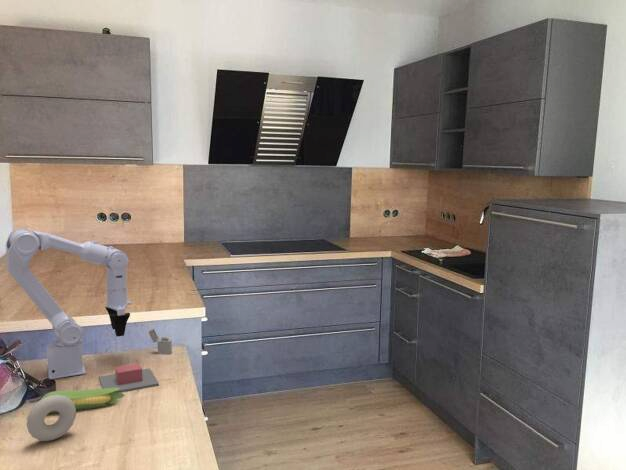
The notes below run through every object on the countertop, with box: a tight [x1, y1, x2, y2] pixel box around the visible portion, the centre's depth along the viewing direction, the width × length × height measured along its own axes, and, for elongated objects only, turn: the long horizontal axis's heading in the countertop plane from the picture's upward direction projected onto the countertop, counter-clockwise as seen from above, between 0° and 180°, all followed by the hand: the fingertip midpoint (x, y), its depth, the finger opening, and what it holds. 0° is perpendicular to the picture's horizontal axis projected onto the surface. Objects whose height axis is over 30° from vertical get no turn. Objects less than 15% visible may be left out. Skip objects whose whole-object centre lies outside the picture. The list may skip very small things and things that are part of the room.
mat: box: [98, 367, 160, 393], centre depth 144 cm, size 14×12×1 cm
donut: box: [26, 395, 77, 442], centre depth 113 cm, size 10×4×10 cm, turn 134°
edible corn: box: [36, 388, 126, 414], centre depth 128 cm, size 5×20×5 cm
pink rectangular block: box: [114, 363, 143, 385], centre depth 143 cm, size 4×6×4 cm
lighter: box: [148, 328, 173, 355], centre depth 166 cm, size 7×2×8 cm, turn 88°
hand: (118, 332), depth 157 cm, fingers open, 7 cm apart
